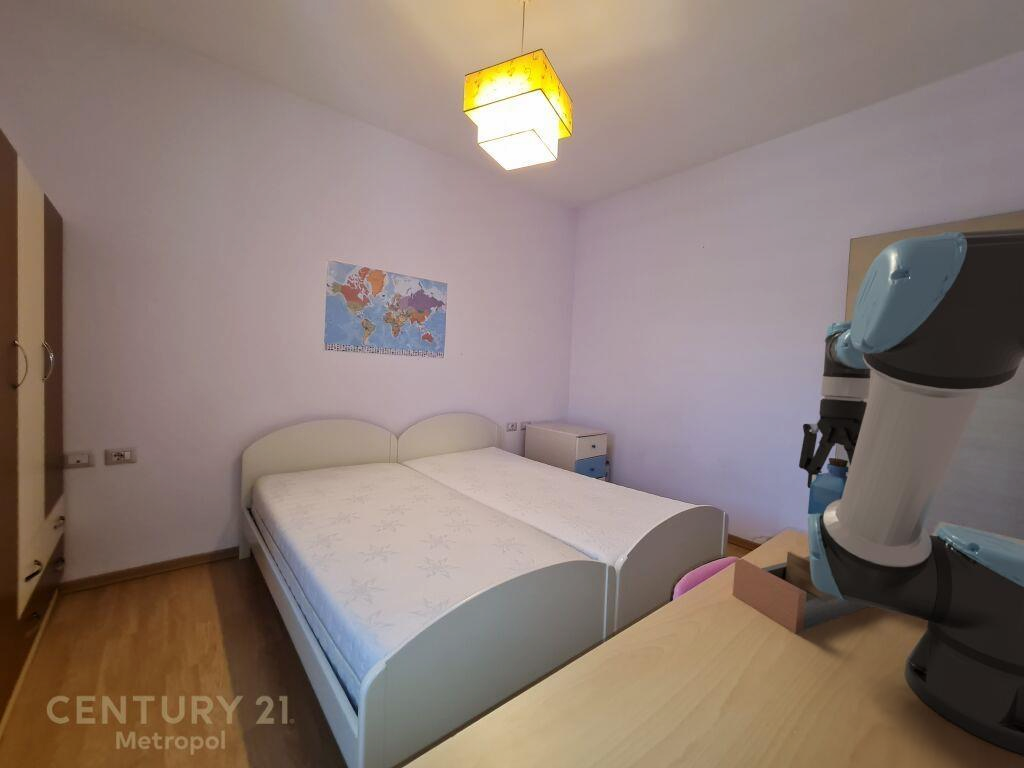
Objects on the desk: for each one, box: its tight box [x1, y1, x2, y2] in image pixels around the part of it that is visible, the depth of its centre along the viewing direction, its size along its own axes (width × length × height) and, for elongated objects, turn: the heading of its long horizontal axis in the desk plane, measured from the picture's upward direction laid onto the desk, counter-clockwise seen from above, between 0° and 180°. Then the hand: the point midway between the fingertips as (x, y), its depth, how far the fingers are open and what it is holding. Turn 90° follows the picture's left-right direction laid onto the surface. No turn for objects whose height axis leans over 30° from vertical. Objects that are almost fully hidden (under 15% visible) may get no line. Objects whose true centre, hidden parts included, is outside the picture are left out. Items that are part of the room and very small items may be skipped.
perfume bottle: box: [807, 457, 850, 515], centre depth 84 cm, size 6×6×12 cm
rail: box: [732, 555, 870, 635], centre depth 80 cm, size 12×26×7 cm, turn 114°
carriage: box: [785, 551, 829, 598], centre depth 83 cm, size 9×12×6 cm
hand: (833, 510), depth 84 cm, fingers closed on perfume bottle, 6 cm apart
